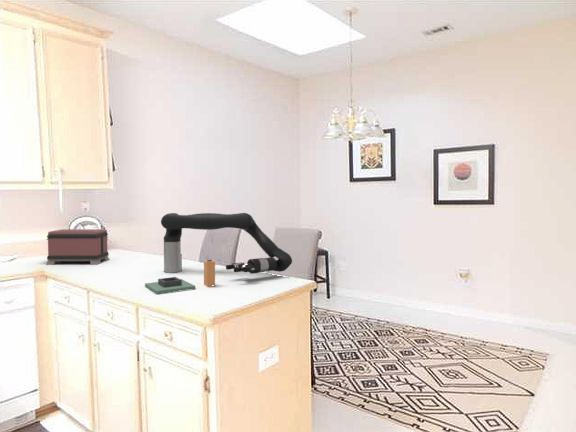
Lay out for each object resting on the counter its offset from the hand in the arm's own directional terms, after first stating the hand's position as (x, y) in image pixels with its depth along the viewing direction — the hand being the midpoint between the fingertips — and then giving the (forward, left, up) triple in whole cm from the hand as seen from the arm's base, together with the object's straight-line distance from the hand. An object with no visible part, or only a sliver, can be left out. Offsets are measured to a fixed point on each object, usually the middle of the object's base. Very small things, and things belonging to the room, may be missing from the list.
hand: (230, 268), depth 200 cm
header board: (+22, -20, -7) cm, 30 cm away
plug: (+10, -6, -7) cm, 13 cm away
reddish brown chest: (-7, -120, -7) cm, 121 cm away
